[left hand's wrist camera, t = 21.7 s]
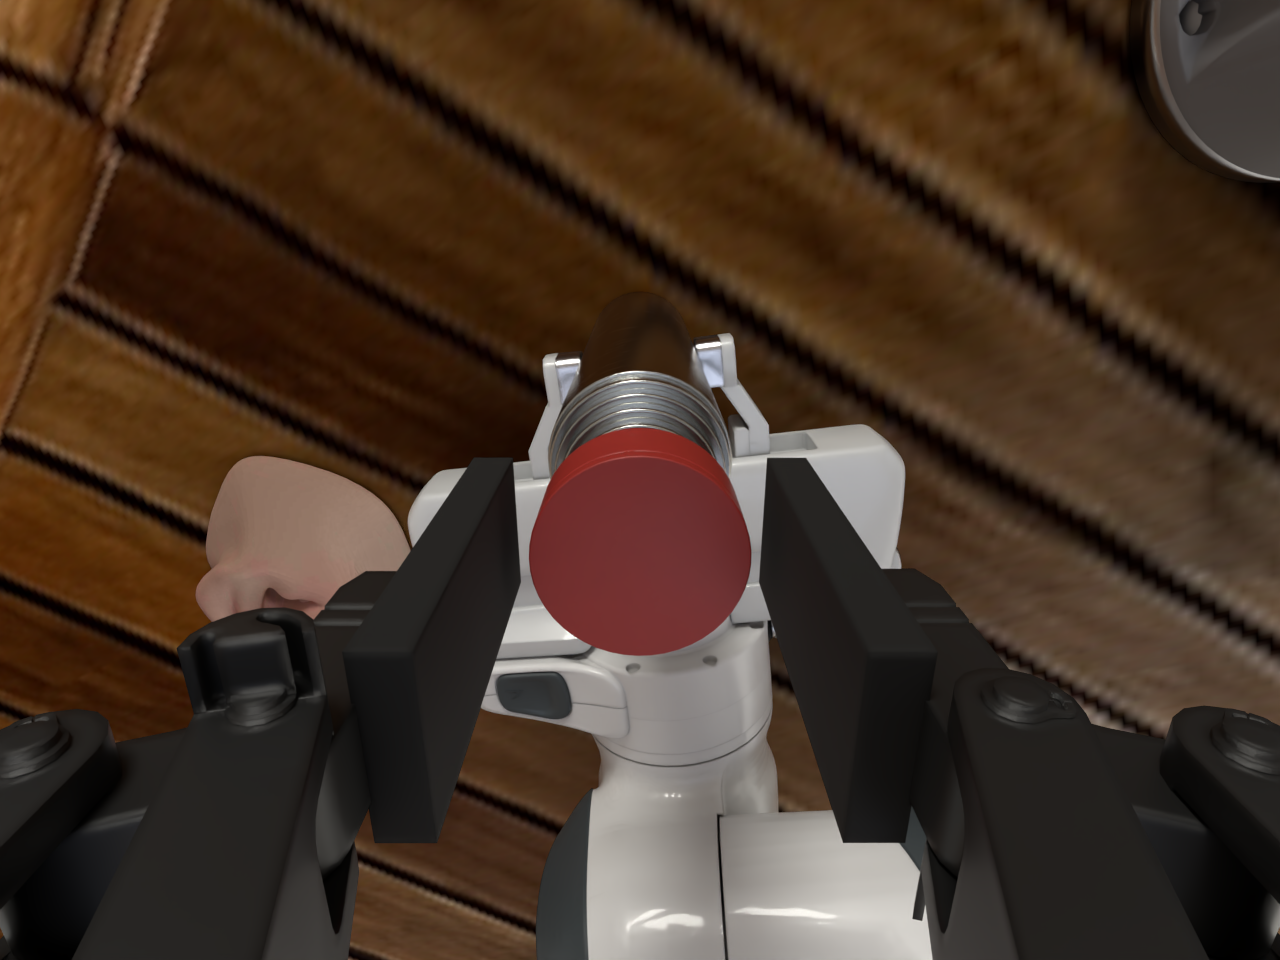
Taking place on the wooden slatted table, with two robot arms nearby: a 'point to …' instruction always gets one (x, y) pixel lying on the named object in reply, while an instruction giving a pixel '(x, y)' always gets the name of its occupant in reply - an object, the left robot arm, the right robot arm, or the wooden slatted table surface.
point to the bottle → (640, 382)
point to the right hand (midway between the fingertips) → (636, 345)
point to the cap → (640, 543)
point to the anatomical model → (292, 538)
